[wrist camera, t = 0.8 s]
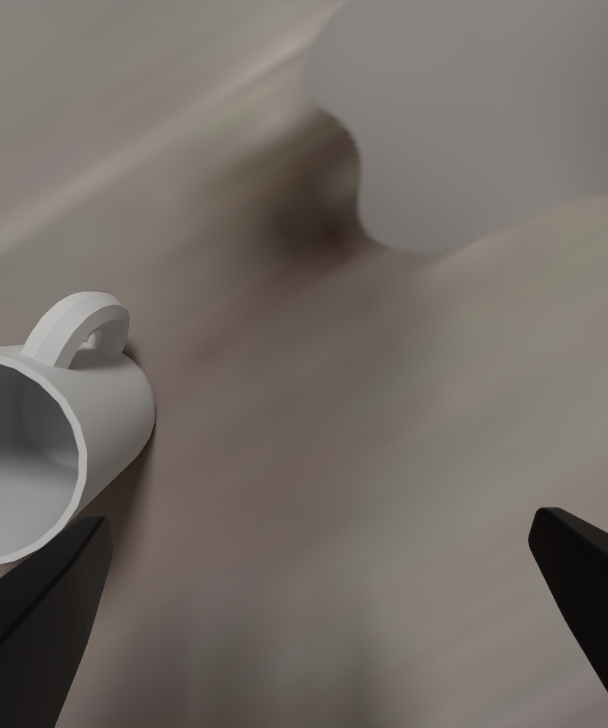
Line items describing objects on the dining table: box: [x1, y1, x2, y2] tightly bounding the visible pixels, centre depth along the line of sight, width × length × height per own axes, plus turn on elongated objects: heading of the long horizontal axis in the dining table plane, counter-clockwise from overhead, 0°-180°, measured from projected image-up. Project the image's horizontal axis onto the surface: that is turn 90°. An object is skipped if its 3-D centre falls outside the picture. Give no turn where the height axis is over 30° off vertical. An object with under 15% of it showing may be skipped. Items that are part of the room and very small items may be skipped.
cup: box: [0, 291, 156, 564], centre depth 18 cm, size 7×10×9 cm
